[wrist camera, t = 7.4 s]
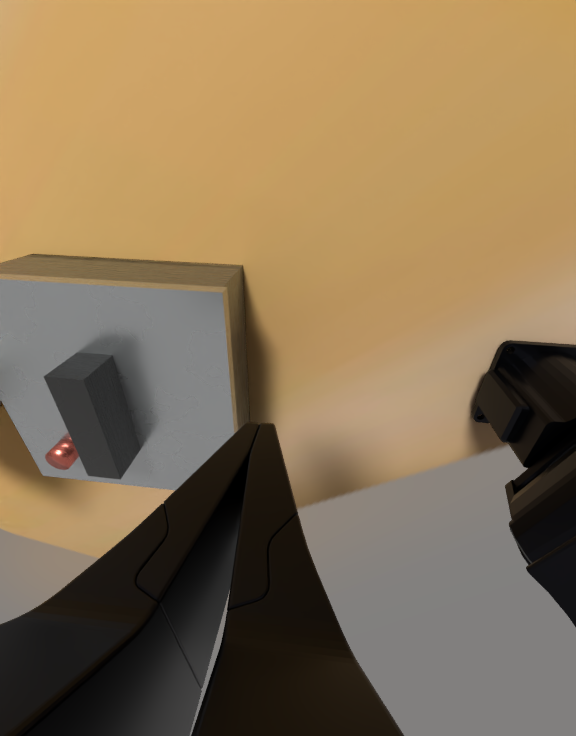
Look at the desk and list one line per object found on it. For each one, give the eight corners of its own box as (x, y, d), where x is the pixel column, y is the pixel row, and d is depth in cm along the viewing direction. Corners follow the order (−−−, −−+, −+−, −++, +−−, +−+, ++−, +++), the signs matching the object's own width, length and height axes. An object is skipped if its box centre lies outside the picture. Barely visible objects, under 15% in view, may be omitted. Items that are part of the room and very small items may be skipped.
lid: (227, 287, 15) (205, 312, 13) (242, 487, 23) (230, 530, 20) (-53, 270, 16) (-129, 290, 14) (50, 467, 24) (15, 504, 21)
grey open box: (242, 265, 20) (219, 290, 16) (250, 432, 27) (236, 480, 23) (32, 254, 21) (-43, 274, 17) (94, 418, 28) (53, 461, 24)
